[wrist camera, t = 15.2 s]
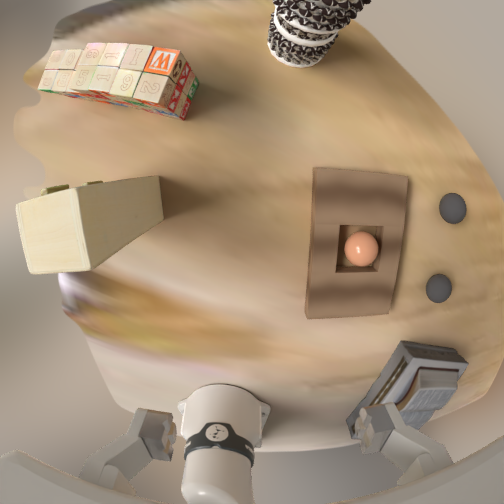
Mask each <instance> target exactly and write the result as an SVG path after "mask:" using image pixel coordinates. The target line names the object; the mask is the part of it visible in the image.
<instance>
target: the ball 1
mask: <svg viewBox="0 0 504 504" xmlns="http://www.w3.org/2000/svg"><path fill="white" fill-rule="evenodd" d="M451 291H452V285H451V282H450V280H449V279H448V277H446V276H445V275H442V274H437V275H434V276H432V277H431V278H430V279H429V281H428V282H427V285H426V293H427V296H428V298H429V299H430V300H431V301H433V302H435V303H441V302H444V301H446V300H447V299H448V298H449V296H450V294H451Z"/></svg>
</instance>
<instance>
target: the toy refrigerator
mask: <svg viewBox="0 0 504 504" xmlns="http://www.w3.org/2000/svg"><path fill="white" fill-rule="evenodd" d="M16 213H17V220H18V225H19V230H20V235H21V240H22V245H23V249H24V254H25V257H26V261H27V266H28V269H29V271H30V273H31V274H50V273H63V272H77V271H88V270H92V269H94V268H96V267H97V266H99V265H100V264H101V263H103V262H104V261H106V260H107V259H108V258H109V257H111V256H112V255H114V254H115V253H116V252H118V251H119V250H121V249H122V248H123V247H125V246H126V245H128V244H129V243H130V242H132V241H133V240H135V239H136V238H138V237H139V236H141V235H142V234H144V233H145V232H147V231H148V230H149V229H151V228H152V227H154V226H156V225H157V224H159V223H160V222H162V221H163V220H164V215H163V208H162V199H161V191H160V182H159V176H148V177H140V178H132V179H124V180H117V181H111V182H104V183H103V181H95V182H87V183H83V184H82V186H80V187H75V188H70V189H69V185H68V184H67V185H61V186H55V187H50V188H45V189H41V196H40V197H37V198H33V199H30V200H27V201H24V202H20V203H18V204H17V205H16Z"/></svg>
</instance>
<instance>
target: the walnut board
mask: <svg viewBox="0 0 504 504" xmlns="http://www.w3.org/2000/svg"><path fill="white" fill-rule="evenodd" d="M407 185H408V176H400V175H392V174H384V173H374V172H364V171H354V170H341V169H327V168H313V188H312V214H311V234H310V250H309V265H308V278H307V290H306V301H305V314H306V317H307V319H324V318H342V317H358V316H371V315H383V314H389V310H390V305H391V301H392V296H393V291H394V286H395V281H396V276H397V270H398V264H399V258H400V252H401V245H402V238H403V230H404V221H405V211H406V200H407ZM340 225H366V226H377V229H376V238H375V239H376V241H377V243H378V254H377V257H376V259H375V260H374V261H373V262H372V266H363V267H361V266H356V267H336V261H337V251H338V240H339V228H340Z"/></svg>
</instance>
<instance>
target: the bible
mask: <svg viewBox="0 0 504 504" xmlns="http://www.w3.org/2000/svg"><path fill="white" fill-rule="evenodd" d="M467 366H468V362H466V361H465V359H464V358H463V357H461V356H460V355H458V353H457V351H456V350H455V349H453V348H448V347H440V346H433V345H427V344H420V343H414V342H408V341H400V343H399V345H398V346H397V348H396V350H395V351H394V353H393V354H392V356H391V358H390V360H389V361H388V363H387V364H386V366H385V367H384V369H383V370H382V372H381V373H380V374H381V376H380V377H379V378H378V379H377V380H376V381H375V382H374V384H373V385H372V387H371V389H370V391H368V393H367V397H366V398H365V399H364V400H362V401H361V403H359V405H358V406H357V407H356V409H355V410H354V411H353V412H352V414H351V415H350V416H349V418H348V419H347V420H346V421H347V424H348V427H349V431H350V434H351V439H359V438H357V436H356V433H355V422H356V419H357V418H358V417H360V414H359V412H360V410H361V408H363V407H368V406H373V405H378V404H384V403H388V402H393V403H394V404H395V406H396V407H397V409H398V411H399V413H400V415H401V417H402V419H403V421H404V423H405V425H406V426H408V425H409V426H411V427H413V428H414V429H416V430H419V429H420V428H421V427H422V426H423V425H424V424H425V423H426V422H427V421H428V420H429V419H430V418H431V416H432V415H433V413H434V411H435V410H439V409H441V408H442V407H444V406H445V405H446V403H447V402H448V401H449V400H450V398H451V397H452V395H453V394H454V393H455V391H456V390H457V381H458V380H459V378H460V377H461V375H462V374H463V372H464V371H465V369H466V368H467Z"/></svg>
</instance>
